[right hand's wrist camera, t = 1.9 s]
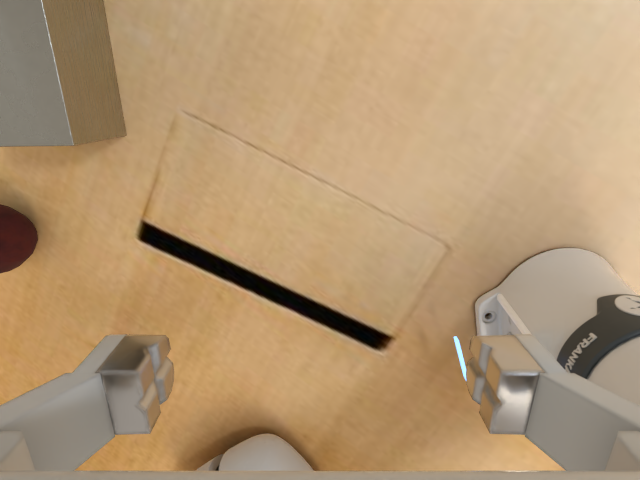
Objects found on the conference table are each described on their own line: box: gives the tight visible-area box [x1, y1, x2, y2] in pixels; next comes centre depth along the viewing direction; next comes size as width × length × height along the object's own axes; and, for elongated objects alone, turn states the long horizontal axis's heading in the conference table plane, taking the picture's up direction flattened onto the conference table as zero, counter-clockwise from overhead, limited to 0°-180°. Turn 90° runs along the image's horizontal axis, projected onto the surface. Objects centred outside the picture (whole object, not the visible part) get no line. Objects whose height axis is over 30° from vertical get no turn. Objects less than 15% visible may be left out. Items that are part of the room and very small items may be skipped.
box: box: [0, 0, 126, 147], centre depth 32 cm, size 21×6×9 cm, turn 0°
